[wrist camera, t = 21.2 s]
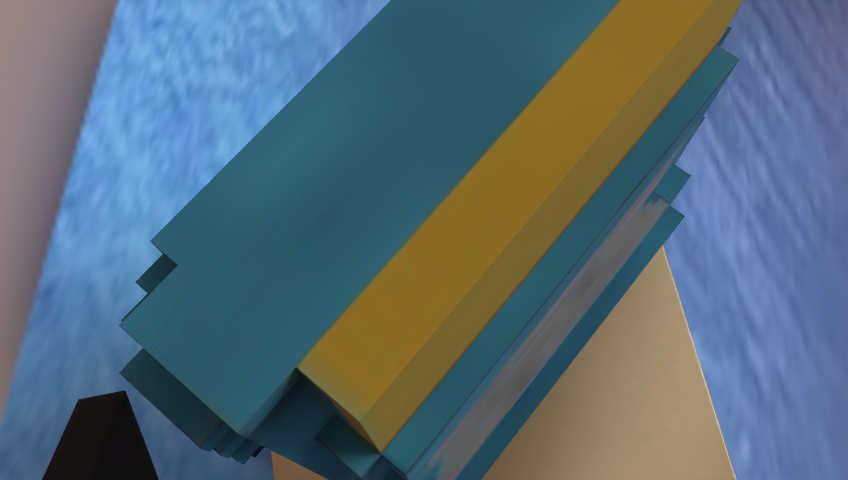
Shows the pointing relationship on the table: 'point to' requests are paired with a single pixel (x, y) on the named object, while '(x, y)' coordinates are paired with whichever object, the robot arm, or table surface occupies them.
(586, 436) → the cork mat
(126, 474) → the robot arm
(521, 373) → the handheld gaming console
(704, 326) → the table surface
